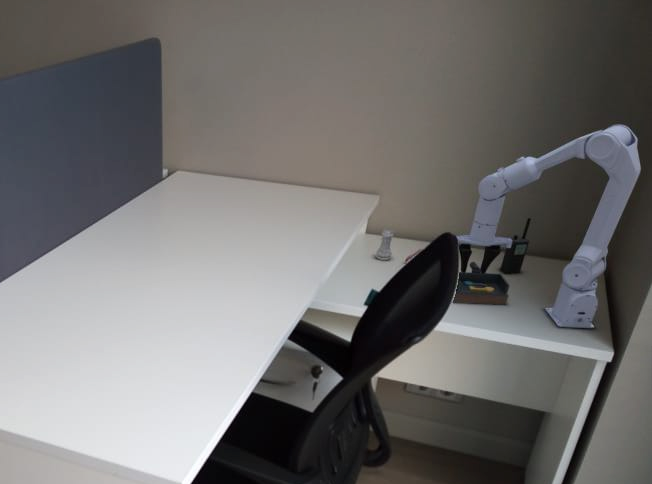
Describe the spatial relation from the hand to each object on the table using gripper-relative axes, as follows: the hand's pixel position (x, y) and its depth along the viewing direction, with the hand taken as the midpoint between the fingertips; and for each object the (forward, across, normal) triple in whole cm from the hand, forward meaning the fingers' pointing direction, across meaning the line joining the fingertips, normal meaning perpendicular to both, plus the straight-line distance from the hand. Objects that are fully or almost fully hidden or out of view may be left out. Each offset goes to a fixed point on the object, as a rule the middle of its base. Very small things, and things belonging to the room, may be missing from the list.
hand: (472, 272), depth 189 cm
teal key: (+1, 0, +5) cm, 5 cm away
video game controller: (+4, +11, -10) cm, 16 cm away
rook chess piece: (+4, +19, -18) cm, 27 cm away
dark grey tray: (+2, 0, +4) cm, 5 cm away
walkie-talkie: (+4, -14, -12) cm, 19 cm away
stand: (+4, 0, +6) cm, 7 cm away
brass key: (+1, 0, +8) cm, 8 cm away
